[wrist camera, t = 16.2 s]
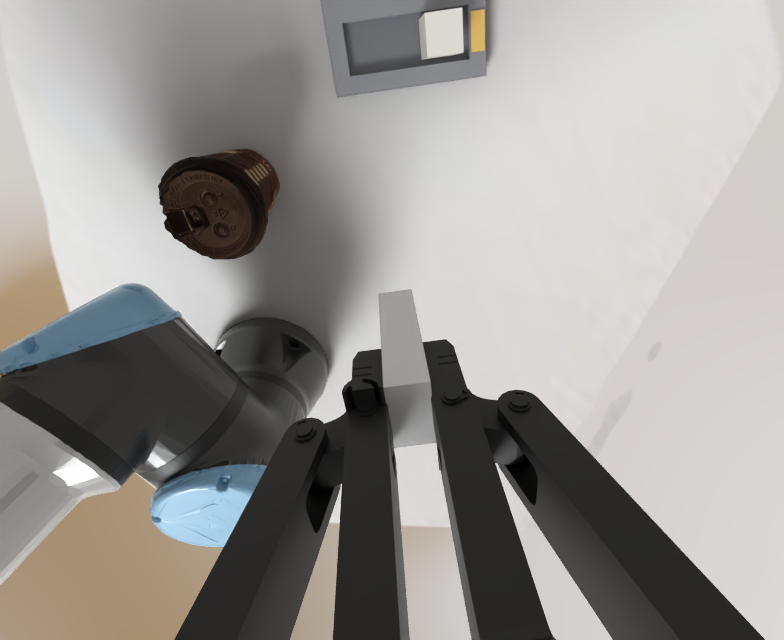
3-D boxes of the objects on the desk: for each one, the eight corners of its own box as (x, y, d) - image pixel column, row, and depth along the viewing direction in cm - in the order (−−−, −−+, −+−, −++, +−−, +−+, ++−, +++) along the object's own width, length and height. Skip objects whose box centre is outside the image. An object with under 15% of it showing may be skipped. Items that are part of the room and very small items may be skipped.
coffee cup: (195, 196, 44) (136, 236, 33) (218, 120, 41) (161, 136, 29) (273, 232, 47) (243, 281, 35) (301, 164, 43) (277, 194, 32)
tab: (421, 59, 38) (427, 57, 34) (418, 19, 36) (424, 12, 32) (453, 55, 38) (463, 52, 34) (452, 14, 36) (462, 7, 32)
